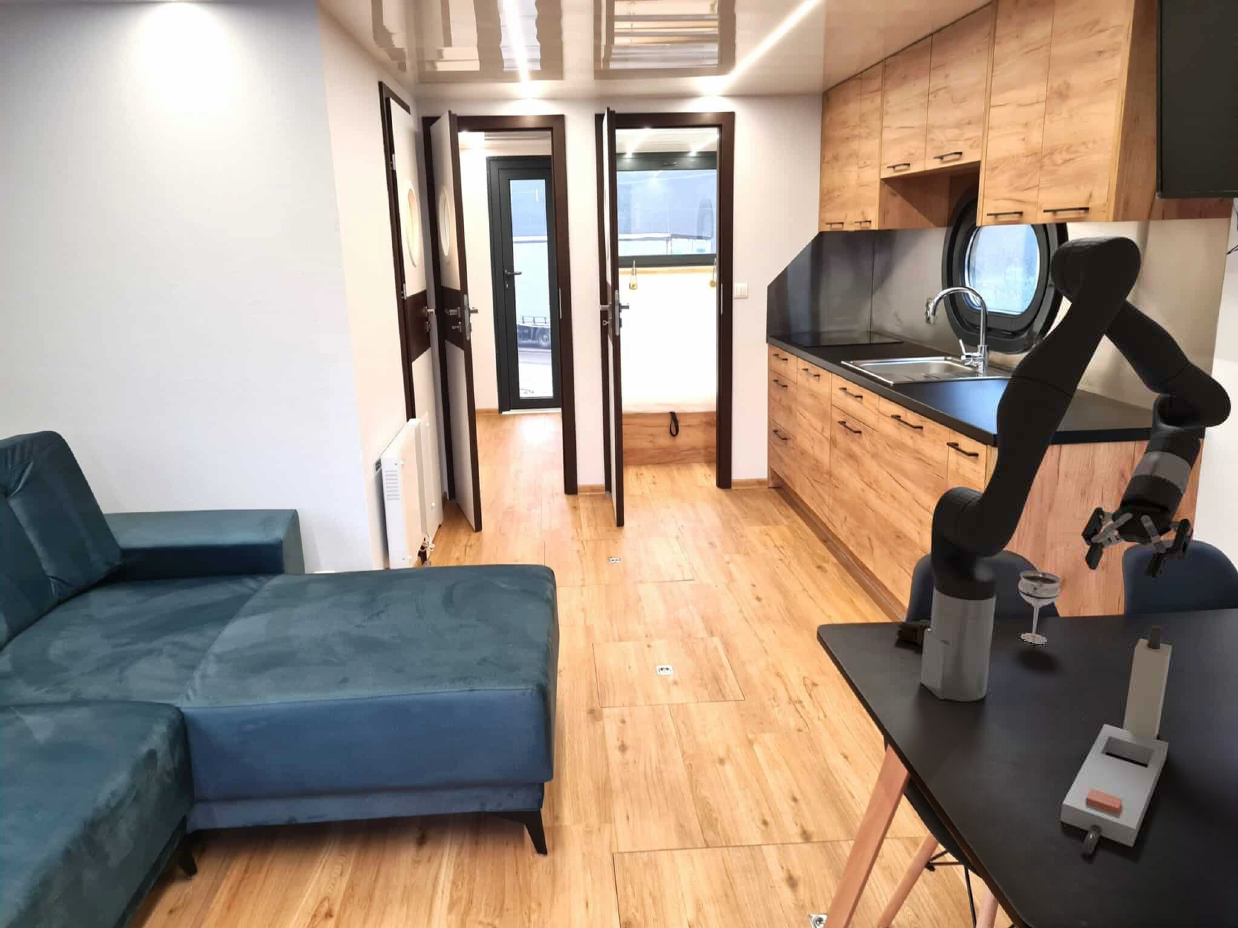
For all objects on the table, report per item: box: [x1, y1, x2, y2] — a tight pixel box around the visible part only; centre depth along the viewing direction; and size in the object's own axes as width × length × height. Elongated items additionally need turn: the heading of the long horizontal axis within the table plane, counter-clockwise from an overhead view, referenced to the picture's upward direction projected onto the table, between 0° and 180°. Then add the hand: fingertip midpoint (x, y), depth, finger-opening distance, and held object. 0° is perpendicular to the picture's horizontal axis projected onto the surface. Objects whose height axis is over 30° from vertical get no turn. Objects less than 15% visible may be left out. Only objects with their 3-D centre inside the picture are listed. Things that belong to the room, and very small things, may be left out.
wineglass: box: [1017, 570, 1062, 645], centre depth 161 cm, size 7×7×12 cm
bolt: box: [896, 619, 931, 647], centre depth 159 cm, size 6×5×15 cm
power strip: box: [1059, 723, 1169, 856], centre depth 116 cm, size 29×8×3 cm, turn 141°
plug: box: [1122, 624, 1173, 739], centre depth 129 cm, size 4×4×17 cm
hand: (1119, 572), depth 134 cm, fingers open, 8 cm apart
